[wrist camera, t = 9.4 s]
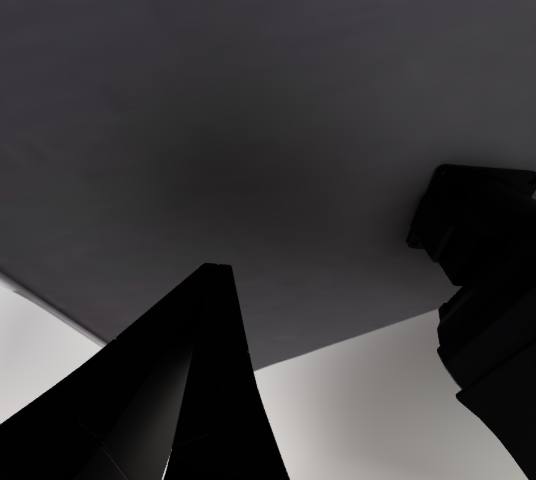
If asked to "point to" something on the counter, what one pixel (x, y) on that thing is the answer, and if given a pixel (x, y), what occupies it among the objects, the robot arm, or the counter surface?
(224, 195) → the counter surface
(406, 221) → the counter surface
